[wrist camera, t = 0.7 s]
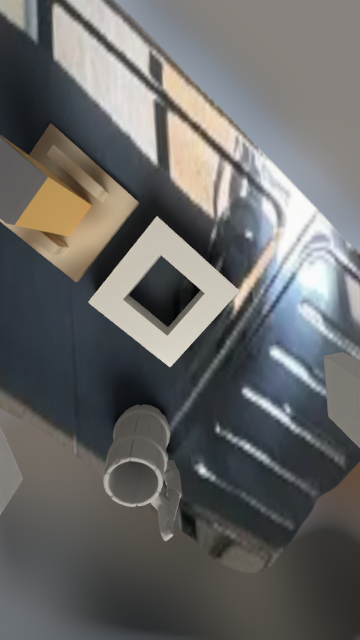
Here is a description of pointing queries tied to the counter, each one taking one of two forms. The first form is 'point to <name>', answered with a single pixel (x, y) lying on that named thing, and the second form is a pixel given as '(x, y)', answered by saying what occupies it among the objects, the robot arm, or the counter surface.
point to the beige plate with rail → (95, 188)
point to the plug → (36, 194)
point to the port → (140, 321)
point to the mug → (143, 465)
